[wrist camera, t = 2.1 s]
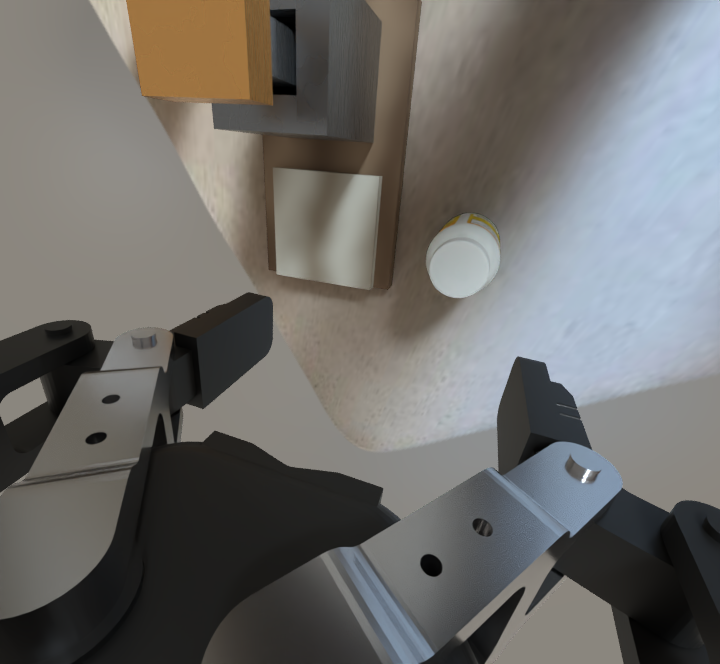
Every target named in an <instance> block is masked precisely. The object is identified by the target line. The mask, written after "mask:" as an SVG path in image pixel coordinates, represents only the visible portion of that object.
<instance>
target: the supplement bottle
mask: <svg viewBox="0 0 720 664" xmlns="http://www.w3.org/2000/svg"><path fill="white" fill-rule="evenodd" d="M499 265H500V238H499V233H498V230H497V228H496V227H495V225H494V224H493V223H492V222H491V221H490V220H489V219H488V218H486V217H485V216H482V215H480V214H476V213H465V214H461V215H458V216H456V217H454V218H453V219H451V220H450V221H449V222H448V223H447V224H446V225H445V226H444V227H443V228H442V229H441V230H440V232H439V233H438V234H437V235H436V236H435V237H434V239H433V240H432V242H431V243H430V245H429V248H428V250H427V255H426V267H427V271H428V274H429V276H430V279H431V281H432V283H433V285H434V287H435V288H436V289H437V290H438V291H439V292H440V293H442V294H444V295H446V296H448V297H452V298H465V297H469V296H471V295H473V294H475V293H477V292H478V291H480V290H482V289H483V288H485V287H486V286H487V285H488V284H489V283H490V282H491V281H492V280H493V279H494V277H495V275H496V274H497V271H498V269H499Z"/></svg>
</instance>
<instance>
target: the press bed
mask: <svg viewBox="0 0 720 664" xmlns="http://www.w3.org/2000/svg"><path fill="white" fill-rule="evenodd" d="M365 1H366V2H367V3H368V5H369V6H370V7H371V8H372V10H373V11H374V12H375V14H376V15H377V16H378V17H379V19H380V20H381V21H382V30H381V44H380V58H379V72H378V86H377V100H376V115H375V129H374V143H366V142H350V141H334V140H318V139H302V138H287V137H278V136H270V135H263V154H264V176H265V198H266V219H267V241H268V263H269V270H273V271H277V275H283V276H289V277H295V278H301V279H307V280H313V281H318V282H324V283H330V284H336V285H342V286H348V287H354V288H360V289H366V290H371V289H372V288H373V287H375V288H381V289H387V290H388V289H389V288H390V287H391V285H392V277H393V268H394V258H395V249H396V240H397V230H398V221H399V211H400V202H401V192H402V183H403V173H404V164H405V155H406V145H407V136H408V126H409V117H410V107H411V98H412V88H413V79H414V70H415V60H416V51H417V41H418V32H419V22H420V13H421V3H422V2H421V0H365Z"/></svg>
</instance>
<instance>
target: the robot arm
mask: <svg viewBox="0 0 720 664" xmlns="http://www.w3.org/2000/svg"><path fill="white" fill-rule="evenodd" d="M272 339H273V303H272V300H271V298H270V297H267V296H262V295H258V294H254V293H246V294H244V295H242V296H240V297H238V298H237V299H235V300H233V301H231V302H229V303H227V304H223V305H219V306H216V307H214V308H212V309H210V310H208V311H206V313H202V314H201V315H199V316H197V318H193V319H191V320H189V321H187V322H185V323H183V324H181V325H180V326H177V327H175V328H174V329H172V330H170V331H168V330H166V329H162V328H155V327H147V328H138V329H134V330H130V331H127V332H125V333H123V334H121V335H119V336H118V337H117V338H116V339H115V341H103V340H94V337H93V334H92V329H91V326H90V325H89V324H88V323H86V322H83V321H76V320H66V321H56V322H51V323H46V324H43V325H40V326H37V327H35V328H32V329H29V330H27V331H24V332H22V333H19V334H17V335H14V336H12V337H9V338H6V339H4V340H1V341H0V403H1V401H2V400H3V398H4V397H5V396H6V395H7V394H9V393H10V392H12V391H14V390H16V389H18V388H20V387H21V386H24V385H26V384H27V383H29V382H31V381H33V380H35V379H37V378H39V377H40V380H41V383H42V386H43V389H44V392H45V395H46V398H47V402H45V403H43V404H41V405H40V406H38V407H36V408H35V409H33V410H31V411H29V412H28V413H26V414H24V415H22V416H21V417H19V418H17V419H16V420H14V421H12V422H10V423H9V424H7V425H5V426H4V424H3V422H2V420H1V417H0V492H2V491H3V490H4V489H6V488H7V487H8V488H7V489H6V490H5V491H4V492H3V493H2V495H1V496H0V664H493V663H494V662H495V660H496V659H497V658H498V657H499V655H500V654H501V653H502V652H503V650H504V649H505V648H506V646H507V645H508V643H509V642H510V640H511V639H512V638H513V637H514V635H515V634H516V633H517V632H518V630H519V629H520V628H521V627H522V626H523V625H524V624H525V622H526V621H527V620H528V619H529V618H530V617H531V616H532V615H533V614H534V613H535V612H536V611H537V610H538V608H539V607H540V606H541V605H542V604H543V603H544V602H545V601H546V600H547V599H548V598H549V597H550V596H551V594H552V593H553V592H554V591H555V590H556V589H557V588H558V587H559V586H560V585H561V584H562V583H563V582H564V581H565V580H566V578H567V577H569V578H570V579H572V580H573V581H575V582H577V583H578V584H579V585H581V586H583V587H584V588H586V589H587V590H589V591H590V592H592V593H593V594H595V595H597V596H598V597H600V598H601V599H603V600H605V601H606V602H608V603H609V604H611V607H612V612H613V616H614V621H615V625H616V630H617V635H618V639H619V644H620V648H621V653H622V658H623V662H624V664H720V509H717V508H715V507H713V506H710V505H708V504H704V503H701V502H697V501H681V502H679V503H677V504H676V505H675V507H674V508H673V509H672V511H671V512H670V513H669V512H667V511H665V510H663V509H661V508H658V507H657V506H655V505H653V504H650V503H649V502H647V501H644V500H643V499H641V498H639V497H637V496H635V495H633V494H631V493H629V492H627V491H626V490H625V489H623V488H622V485H623V484H622V479H621V476H620V474H619V472H618V471H617V470H616V469H615V467H614V466H613V465H612V464H611V463H610V462H609V461H607V460H606V459H605V458H604V457H602V456H601V455H599V454H598V453H596V452H595V451H593V450H592V448H591V446H590V443H589V440H588V438H587V435H586V432H585V429H584V426H583V423H582V421H581V420H580V415H579V412H578V410H577V407H576V404H575V401H574V398H573V396H572V395H571V394H570V393H569V392H568V391H567V390H566V389H565V387H564V386H563V385H562V384H559V383H555V382H551V381H550V378H549V374H548V371H547V367H546V364H545V363H544V362H539V361H535V360H531V359H527V358H522V357H517V358H516V359H515V362H514V364H513V367H512V370H511V373H510V375H509V378H508V381H507V384H506V387H505V390H504V393H503V396H502V398H501V401H500V405H499V409H498V416H497V431H498V467H499V472H498V471H497V470H495V469H494V468H487V469H485V470H483V471H481V472H479V473H478V474H476V475H475V476H473V477H471V478H470V479H468V480H466V481H465V482H463V483H461V484H460V485H458V486H456V487H455V488H453V489H451V490H450V491H448V492H446V493H445V494H443V495H441V496H440V497H438V498H436V499H435V500H433V501H431V502H430V503H428V504H426V505H425V506H423V507H422V508H420V509H418V510H417V511H415V512H413V513H412V514H410V515H408V516H407V517H405V518H403V519H402V520H401V519H400V518H399V517H398V516H396V515H395V514H394V513H393V512H391V511H390V510H389V509H388V508H386V507H385V506H383V505H381V504H380V503H381V497H382V493H383V488H381V487H378V486H376V485H373V484H370V483H367V482H364V481H361V480H358V479H355V478H352V477H349V476H346V475H343V474H340V473H336V472H327V471H320V470H311V469H303V468H295V467H289V466H287V465H285V464H283V463H282V462H280V461H279V460H277V459H276V458H274V457H273V456H271V455H269V454H268V453H266V452H265V451H263V450H262V449H260V448H259V447H257V446H256V445H254V444H252V443H250V442H247V441H244V440H241V439H238V438H235V437H232V436H229V435H226V434H223V433H220V432H218V431H214V432H213V433H212V434H211V435H210V436H209V437H208V438H207V439H206V440H205V441H204V442H181V433H182V423H183V409H182V406H184V405H185V404H189V405H193V406H196V407H199V408H202V409H204V408H205V407H206V406H207V405H209V404H210V403H211V402H212V401H213V400H215V399H216V398H217V397H218V396H219V395H220V394H221V393H223V392H224V391H225V390H226V389H227V388H229V387H230V386H231V385H232V384H233V383H234V382H236V381H237V380H238V379H239V378H240V377H241V376H243V375H244V374H245V373H246V372H247V371H249V370H250V369H251V368H252V367H253V366H254V365H256V364H257V363H258V362H259V361H260V360H261V359H263V358H264V357H265V356H266V355H267V354H268V352H269V350H270V348H271V345H272ZM28 472H29V473H28ZM27 473H28V475H27V476H26V478H25V479H24V480H23V481H21V482H19V483H15V484H13V483H14V482H16V481H17V480H18V479H20V478H21V477H23V476H24V475H25V474H27ZM11 484H13V485H11ZM10 485H11V486H10Z"/></svg>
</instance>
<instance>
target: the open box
mask: <svg viewBox="0 0 720 664" xmlns="http://www.w3.org/2000/svg"><path fill="white" fill-rule="evenodd" d="M270 16H271V17H273V18H274V19H276V20H277V21H279V22H280V23H282V24H283V25H285V26H286V27H288V28H289V29H291V30H292V31H294V32H295V33H296V91H297V95H290V94H287V93H284V92H281V91H278V90H275V89H273V106H272V105H247V104H221V103H212V111H213V122H214V129H220V130H229V131H237V132H245V133H254V134H262V135H270V136H278V137H287V138H302V139H318V140H334V141H350V142H366V143H374V129H375V115H376V100H377V86H378V72H379V58H380V44H381V30H382V21H381V20H380V19H379V17H378V16H377V15H376V14H375V12H374V11H373V10H372V8H371V7H370V6H369V5H368V3H367V2H366V1H365V0H270Z"/></svg>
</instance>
